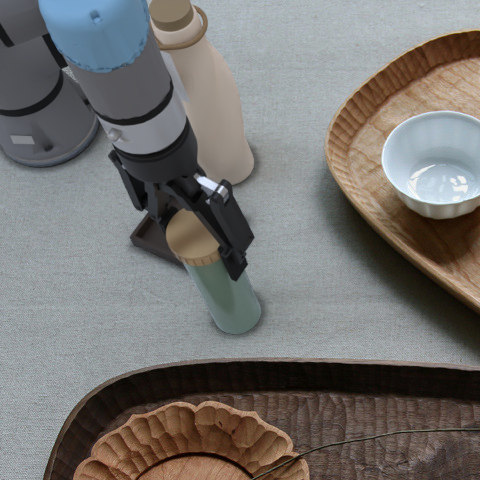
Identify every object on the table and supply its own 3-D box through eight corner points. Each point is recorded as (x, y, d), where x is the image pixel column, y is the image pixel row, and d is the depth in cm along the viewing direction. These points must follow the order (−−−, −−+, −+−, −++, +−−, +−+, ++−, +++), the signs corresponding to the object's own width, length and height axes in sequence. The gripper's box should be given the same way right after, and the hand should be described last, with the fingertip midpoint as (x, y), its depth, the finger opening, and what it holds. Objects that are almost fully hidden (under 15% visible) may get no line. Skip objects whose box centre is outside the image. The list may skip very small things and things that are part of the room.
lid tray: (134, 245, 115) (128, 237, 113) (173, 191, 118) (169, 182, 116) (206, 277, 112) (202, 269, 110) (244, 221, 115) (241, 213, 113)
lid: (157, 252, 93) (152, 243, 91) (192, 203, 95) (188, 194, 94) (211, 276, 91) (207, 267, 90) (245, 226, 94) (242, 217, 92)
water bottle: (247, 201, 117) (192, 49, 91) (188, 192, 118) (117, 40, 92) (266, 144, 120) (218, -17, 94) (208, 137, 121) (146, -25, 96)
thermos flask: (205, 323, 109) (160, 244, 92) (229, 285, 111) (190, 201, 94) (245, 341, 108) (207, 264, 90) (269, 303, 110) (237, 221, 92)
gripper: (39, 119, 77) (125, 252, 98) (217, 194, 73) (267, 316, 94) (85, 65, 79) (159, 206, 101) (260, 133, 75) (299, 266, 96)
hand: (211, 259), depth 97 cm, fingers closed on lid, 7 cm apart
